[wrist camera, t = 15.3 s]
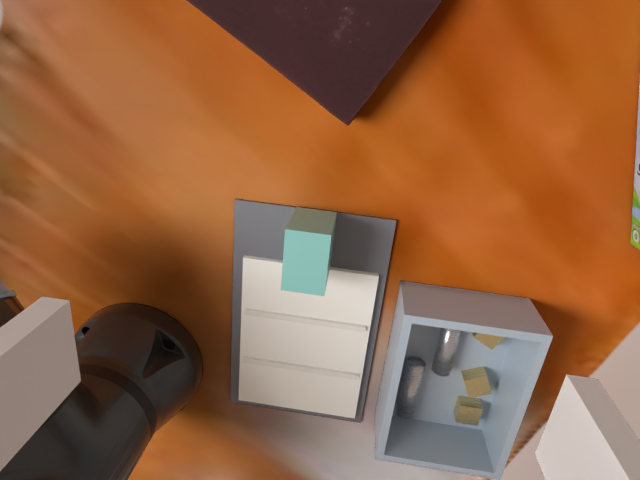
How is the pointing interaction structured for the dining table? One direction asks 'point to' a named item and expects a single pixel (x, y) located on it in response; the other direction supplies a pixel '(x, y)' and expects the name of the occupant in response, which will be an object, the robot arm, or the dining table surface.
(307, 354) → the lid
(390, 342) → the tub
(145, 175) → the dining table surface
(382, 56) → the book
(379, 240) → the mat
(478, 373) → the parts
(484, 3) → the dining table surface
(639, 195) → the snack box
